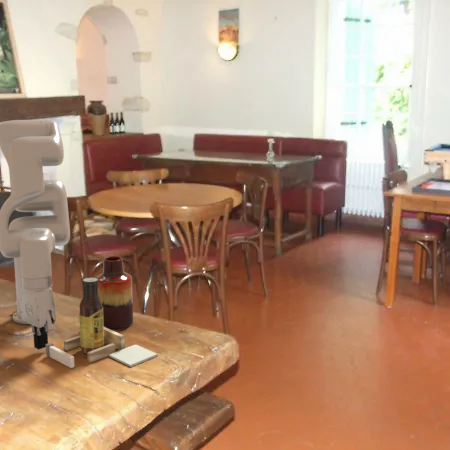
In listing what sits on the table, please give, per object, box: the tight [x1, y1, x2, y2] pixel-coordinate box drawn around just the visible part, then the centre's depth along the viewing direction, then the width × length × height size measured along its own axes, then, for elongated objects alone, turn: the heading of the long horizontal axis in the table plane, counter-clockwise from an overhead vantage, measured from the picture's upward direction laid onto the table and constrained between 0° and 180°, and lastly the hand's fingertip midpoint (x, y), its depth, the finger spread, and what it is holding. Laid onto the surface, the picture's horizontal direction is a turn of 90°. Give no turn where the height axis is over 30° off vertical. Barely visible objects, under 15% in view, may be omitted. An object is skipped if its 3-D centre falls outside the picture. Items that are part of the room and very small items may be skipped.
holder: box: [63, 327, 126, 363], centre depth 161 cm, size 12×11×4 cm
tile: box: [108, 344, 158, 368], centre depth 158 cm, size 9×9×1 cm
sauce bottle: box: [78, 277, 105, 355], centre depth 159 cm, size 7×6×20 cm
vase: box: [95, 255, 134, 331], centre depth 178 cm, size 11×11×20 cm
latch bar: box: [45, 342, 75, 369], centre depth 154 cm, size 11×2×3 cm, turn 48°
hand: (41, 347), depth 160 cm, fingers closed
